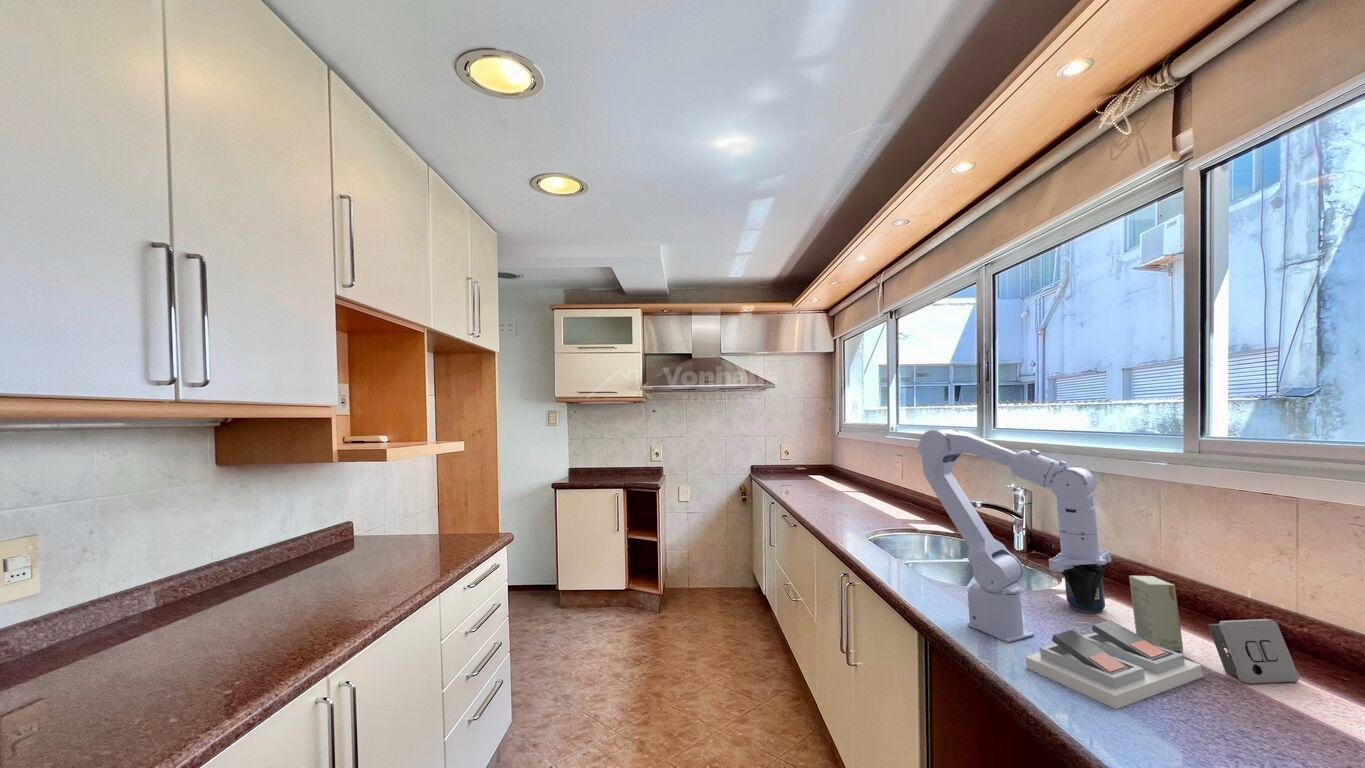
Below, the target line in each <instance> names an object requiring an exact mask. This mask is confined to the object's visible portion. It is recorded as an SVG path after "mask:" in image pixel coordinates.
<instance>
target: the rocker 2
mask: <svg viewBox="0 0 1365 768" xmlns="http://www.w3.org/2000/svg"><path fill="white" fill-rule="evenodd" d="M1091 631H1092V632H1093V633H1094V632H1095V633H1097V634H1099V635H1100V636H1102V637H1104V638H1105V639H1107V640H1108V641H1110V642H1112V643H1113V644H1115V645H1117V646H1118V647H1120V648H1122V649H1123V650H1125V651H1128V652H1130V653H1133V654H1136V655H1139V656H1141V657H1144V658H1147V659H1150V660H1153V661H1155V660H1158V659H1161V658H1164V657H1167V656H1169V653H1167V652H1165V651H1164V650H1162V649H1160V648H1158V647H1157V646H1155V645H1153V644H1151V643H1150V642H1148V641H1146V640H1144V639H1143V638H1141V637H1139V636H1138V635H1136V633H1134V632H1132V631H1131V630H1129V629H1127V628H1126V627H1124V626H1122V625H1120V624H1118V623H1117V622H1115V621H1114V620H1111V619H1110V620H1106V621H1103V622H1099V623H1095V624H1093V625H1092V630H1091Z"/></svg>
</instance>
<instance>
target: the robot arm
mask: <svg viewBox="0 0 1365 768" xmlns="http://www.w3.org/2000/svg"><path fill="white" fill-rule="evenodd" d="M917 450H918V452H919V453H920V455H921V462H922V470H923V475H924V478H925V479H926V480H927V482H928V484H929V485H930V487H931V489H932V491H933V492H934V494H935V495H936V497H937V498H938V500H939V501H940V503H941V505H942V506H943V508H944V510H945V511H946V513H947V515H948V517H949V518H950V519H951V521H952V523H953V525H954V526H955V527H956V529H957V531H958V532H959V534H960V536H961V537H962V539H963V542H965V544H966V546H967V547H968V555H967V559H968V562H969V563H970V566H971V568H972V574H973V577H974V580H975V582H973V583H971V585H970V586H969V589H968V592H967V602H968V617H969V622H966V624H967V626H968V625H969V626H968V627H970V626H971V627H970V628H973V629H975V628H976V630H977V629H979V630H978V631H980V630H981V631H980V632H982V631H983V632H982V633H984V632H985V633H984V634H987V633H988V634H987V635H989V634H990V636H992V635H993V636H992V637H994V636H995V637H994V638H996V637H997V638H996V639H999V640H1001V641H1004V642H1006V643H1010V642H1015V641H1018V640H1022V639H1025V638H1029V637H1033V636H1035V632H1034V631H1030V630H1028V629H1026V628H1024V621H1023V610H1022V596H1021V587H1020V585H1019V581H1020V580H1021V579H1022V578H1023V576H1024V566H1023V564H1022V562H1021V560H1019V558H1018V557H1017V556H1015V555H1013V554H1012V553H1011V552H1010V551H1009V550H1008V549H1007V547H1006V546H1005V545H1004V544H1003V542H1000V541H999V540H997V539H995V538H994V536H993V535H992V533H991V532H990V531H989V529H988V527H987V526H986V524H985V522H984V521H983V519H982V518H981V516H980V515H979V513H978V512H977V510H976V509H975V507H974V505H973V504H972V503H971V500H970V499H969V498H968V496H967V495H966V493H965V492H964V490H963V488H962V487H961V485H960V484H959V482H958V481H957V479H956V478H955V476H954V475H953V470H954V468H955V467H954V466H955V464H956V461H958V459H959V457H960V456H961V455H962V454H971V455H975V456H976V457H981V458H983V459H986V460H988V461H992V462H995V463H997V464H1000V465H1004V466H1006V467H1008V468H1009V470H1010V471H1011V472H1012V474H1013V475H1014V476H1015V477H1018V478H1020V479H1023V480H1025V481H1028V482H1030V483H1032V484H1036V485H1037V486H1040V487H1042V488H1044V489H1047V490H1050V491H1051V492H1052V493H1053V495H1055V496H1056V509H1057V519H1058V521H1057V522H1058V533H1059V534H1058V535H1059V545H1060V552H1059V553H1058V554H1056V556H1054V557H1052V558H1049V559H1048V566H1049V567H1048V569H1049V571H1054V572H1058V573H1061V574H1062V575H1063V577H1064V579H1065V578H1066V580H1067V581H1068V583H1069V585H1070V588H1071V590H1072V592H1073V595H1074V598H1075V600H1076V603H1077V604H1078V605H1081V606H1084V607H1088V608H1089V607H1093V604H1094V600H1095V595H1096V591H1097V587H1098V584H1099V582H1100V580H1101V578H1103V577H1104V575H1105V573H1106V570H1105V568H1104V567H1103V565H1107V563H1111V562H1112V552H1111V551H1109V550H1106V549H1105V550H1103V549H1100V547H1099V539H1098V538H1099V536H1098V527H1097V525H1098V524H1097V515H1096V508H1095V504H1094V503H1095V501H1094V495H1093V494H1092V493H1094V491H1095V490H1096V489H1097V479H1096V477H1095V475H1094V474H1093V473H1092V472H1091V471H1090V470H1088V469H1086V468H1084V467H1083V466H1081V465H1071V466H1068V462H1067V461H1065V460H1059V461H1057V460H1054V459H1052V458H1051V457H1046V456H1043V455H1041V452H1040V451H1039V450H1036V449H1031V450H1027V449H1024V450H1023V449H1022V450H1020V451H1018V452H1016V451H1014V450H1013V451H1012V450H1010V449H1009V448H1006V447H1003V446H1001V445H998V444H996V443H994V442H991V441H990V440H987V439H984V438H981V437H979V436H977V435H974V434H972V433H970V432H968V431H967V432H966V431H960V430H959V429H956V428H946V429H939V430H937V429H931V430H926V432H923V434H922V435H921V437H920V440H919V442H918V446H917ZM1095 564H1099V565H1101V567H1098V566H1095Z"/></svg>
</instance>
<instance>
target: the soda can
mask: <svg viewBox="0 0 1365 768" xmlns="http://www.w3.org/2000/svg"><path fill="white" fill-rule="evenodd" d="M1095 566H1098V567H1102V565H1099V564H1095ZM1103 579H1104V578H1103V577H1102V578H1101V580H1100V582H1099V584H1098V587H1097V591H1096V595H1095V600H1094V604H1093V607H1089V608H1088V607H1084V606H1081V605H1078V604H1077V603H1076V600H1075V598H1074V595H1073V592H1072V590H1071V588H1070V585H1069V583H1068V581H1067V580H1066V578H1065V577H1064V584H1065V595H1066V602H1067V603H1068V605H1069V606H1070V607H1071V608H1072V609H1074V610H1076V611H1079V612H1083V613H1090V614H1098V613H1102V612H1103V611H1104V609H1105V607H1106V600H1105V592H1104V591H1105V589H1104V581H1103Z"/></svg>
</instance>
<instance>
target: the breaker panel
mask: <svg viewBox="0 0 1365 768" xmlns="http://www.w3.org/2000/svg"><path fill="white" fill-rule="evenodd" d="M1081 636H1082V637H1084V638H1085V639H1087V640H1088V641H1090V642H1091V643H1092V644H1094V645H1095V646H1097V647H1098V648H1100V649H1101V650H1103V651H1104V652H1106V653H1107V654H1109V655H1110V656H1112V657H1113V658H1115V659H1116V660H1118V661H1119V662H1121V663H1122V664H1124V665H1125V666H1127V667H1128V668H1129V669H1127V670H1124V671H1121V672H1118V673H1115V674H1112V675H1111V674H1108V673H1106V672H1103V671H1101V670H1098V669H1096V668H1094V667H1091V666H1089V665H1086V664H1084V663H1082V662H1081V661H1079V660H1078V659H1077V658H1075V657H1074V656H1072V655H1071V654H1070V653H1068V652H1067V651H1065V650H1064V649H1063V648H1061V647H1060V646H1058V645H1057V644H1056V643H1051V644H1048V645H1045V646H1041V647H1039V652H1036V653H1033V654H1030V655H1026V656H1025V669H1027V668H1028V669H1027V670H1030V671H1032V670H1033V671H1032V672H1034V671H1035V673H1036V672H1037V673H1036V674H1038V673H1039V675H1041V676H1043V677H1045V678H1047V677H1048V679H1049V678H1050V679H1049V680H1051V679H1053V680H1052V681H1054V682H1056V681H1057V682H1056V683H1058V682H1059V683H1058V684H1060V683H1061V684H1060V685H1062V684H1063V685H1062V686H1064V685H1065V687H1067V688H1069V689H1071V690H1074V691H1075V692H1078V693H1080V694H1082V695H1085V696H1086V697H1089V698H1091V699H1094V701H1095V700H1096V701H1098V702H1100V703H1102V704H1104V705H1107V706H1108V707H1110V708H1112V709H1114V710H1117V709H1120V708H1124V707H1126V706H1129V705H1131V704H1134V703H1137V702H1140V701H1143V700H1145V699H1147V698H1150V697H1152V696H1155V695H1158V694H1159V695H1160V694H1161V693H1164V692H1166V691H1169V690H1173V689H1174V688H1177V687H1180V686H1183V685H1186V684H1189V683H1191V682H1193V680H1194V681H1197V680H1200V679H1202V678H1203V677H1204V676H1203V668H1202V664H1200V663H1197V662H1194V661H1190V660H1189V659H1185V654H1182V653H1180V652H1178V651H1171V650H1168V649H1165V648H1162V647H1159V646H1157V647H1158V648H1160V649H1162V650H1164V651H1165V652H1167V653H1169V656H1167V657H1164V658H1161V659H1158V660H1155V661H1153V660H1150V659H1147V658H1144V657H1141V656H1139V655H1136V654H1133V653H1130V652H1128V651H1125V650H1123V649H1122V648H1120V647H1118V646H1117V645H1115V644H1113V643H1112V642H1110V641H1108V640H1107V639H1105V638H1104V637H1102V636H1100V635H1099V634H1097V633H1095V632H1094V631H1093V632H1092V633H1089V634H1088V633H1087V634H1084V635H1081ZM1155 646H1156V645H1155ZM1201 677H1202V678H1201Z"/></svg>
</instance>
